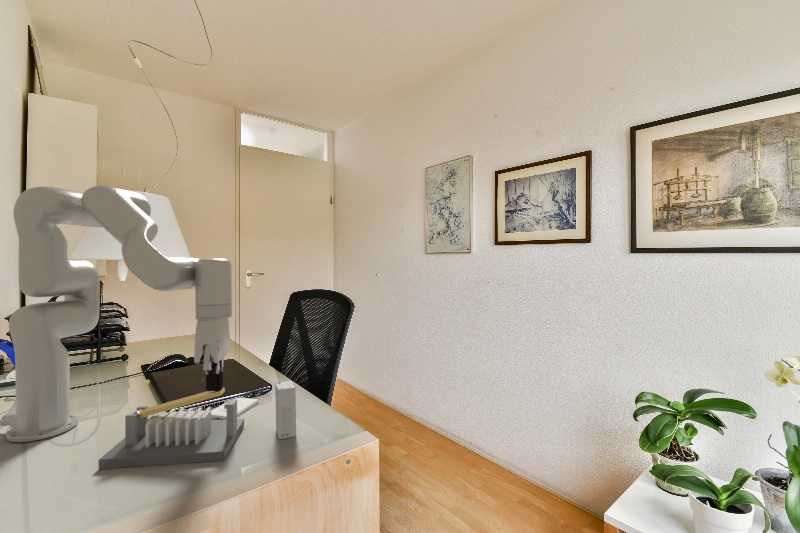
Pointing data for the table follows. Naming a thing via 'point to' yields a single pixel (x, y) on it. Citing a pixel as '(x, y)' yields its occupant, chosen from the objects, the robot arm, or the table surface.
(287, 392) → the skincare box
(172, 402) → the bar
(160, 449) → the cooler base
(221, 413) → the external hard drive
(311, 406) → the table surface
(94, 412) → the table surface
